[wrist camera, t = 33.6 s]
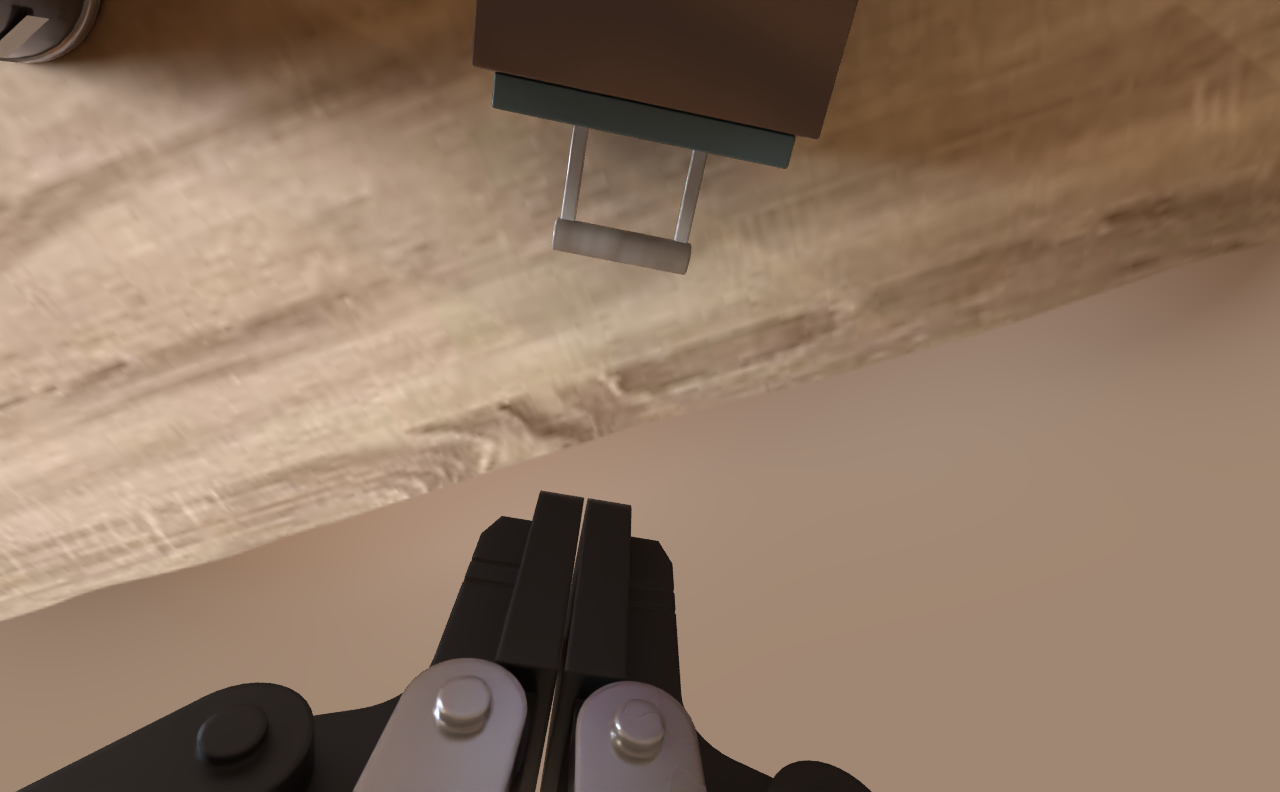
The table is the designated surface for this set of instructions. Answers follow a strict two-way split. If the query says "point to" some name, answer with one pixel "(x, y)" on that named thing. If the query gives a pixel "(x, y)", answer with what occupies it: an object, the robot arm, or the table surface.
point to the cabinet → (678, 53)
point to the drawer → (641, 124)
